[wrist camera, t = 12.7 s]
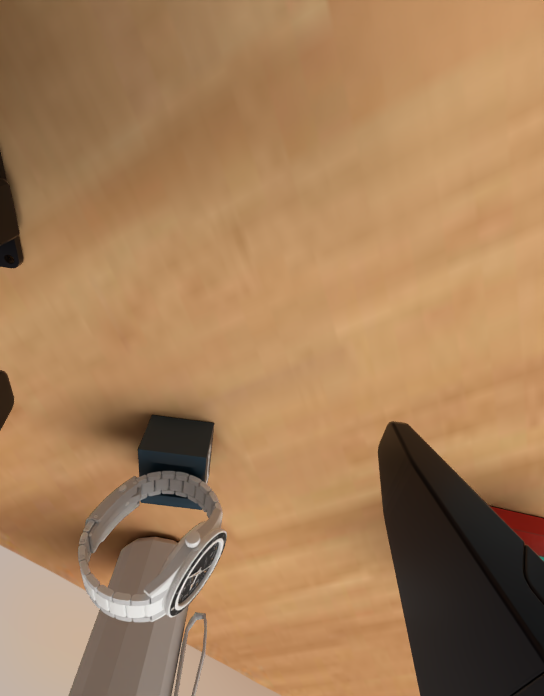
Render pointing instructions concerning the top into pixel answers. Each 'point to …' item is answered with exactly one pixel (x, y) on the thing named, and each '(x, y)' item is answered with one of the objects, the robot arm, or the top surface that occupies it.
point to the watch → (170, 490)
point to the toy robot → (525, 528)
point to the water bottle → (136, 635)
